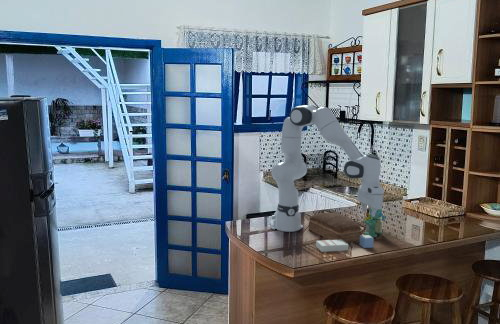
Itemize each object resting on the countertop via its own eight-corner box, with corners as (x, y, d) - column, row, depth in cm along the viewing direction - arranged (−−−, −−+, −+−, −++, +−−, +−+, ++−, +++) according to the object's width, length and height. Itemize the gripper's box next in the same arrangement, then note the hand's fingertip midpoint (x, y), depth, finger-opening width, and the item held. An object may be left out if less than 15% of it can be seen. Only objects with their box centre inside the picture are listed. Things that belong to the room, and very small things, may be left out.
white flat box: (315, 246, 228) (316, 240, 227) (341, 244, 231) (341, 239, 230) (321, 251, 220) (322, 245, 220) (348, 250, 223) (348, 244, 223)
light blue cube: (359, 244, 232) (360, 235, 231) (368, 244, 233) (368, 234, 232) (363, 248, 227) (364, 238, 226) (372, 247, 228) (373, 237, 227)
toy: (369, 230, 257) (370, 205, 255) (386, 234, 251) (388, 208, 249) (362, 234, 249) (363, 208, 247) (379, 238, 243) (381, 211, 241)
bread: (330, 226, 265) (331, 207, 263) (363, 241, 239) (364, 220, 237) (306, 229, 257) (307, 210, 255) (337, 245, 231) (338, 223, 229)
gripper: (355, 182, 235) (353, 208, 237) (374, 191, 215) (372, 219, 217) (366, 182, 236) (364, 208, 238) (386, 191, 216) (383, 219, 219)
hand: (368, 213), depth 228 cm, fingers open, 8 cm apart
